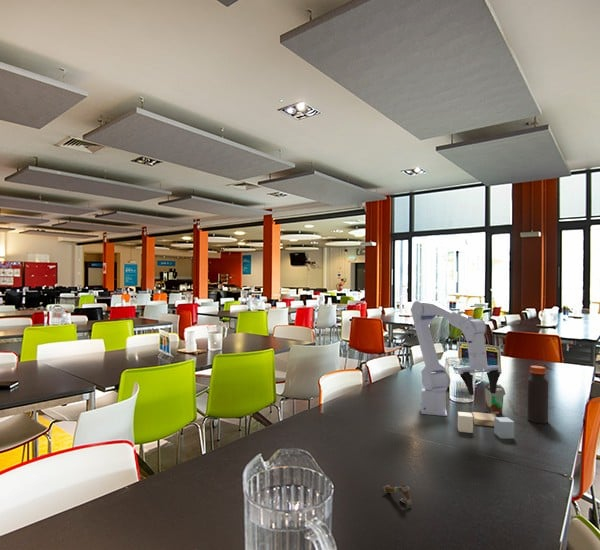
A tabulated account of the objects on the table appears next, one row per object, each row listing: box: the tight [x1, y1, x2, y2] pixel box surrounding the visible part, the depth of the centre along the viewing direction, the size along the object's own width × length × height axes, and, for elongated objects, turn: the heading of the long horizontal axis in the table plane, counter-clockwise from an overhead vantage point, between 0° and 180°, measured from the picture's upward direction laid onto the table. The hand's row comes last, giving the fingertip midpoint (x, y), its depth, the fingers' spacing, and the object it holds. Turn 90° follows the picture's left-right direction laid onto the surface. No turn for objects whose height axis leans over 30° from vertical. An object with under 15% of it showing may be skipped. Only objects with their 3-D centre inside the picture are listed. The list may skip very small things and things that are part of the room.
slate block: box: [493, 416, 515, 440], centre depth 140 cm, size 4×4×6 cm
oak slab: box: [471, 411, 497, 427], centre depth 154 cm, size 8×8×2 cm
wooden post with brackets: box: [383, 483, 413, 507], centre depth 98 cm, size 2×8×4 cm, turn 31°
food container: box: [484, 382, 506, 417], centre depth 164 cm, size 12×6×10 cm, turn 168°
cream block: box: [457, 411, 474, 434], centre depth 145 cm, size 4×4×6 cm
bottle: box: [526, 365, 549, 425], centre depth 155 cm, size 7×7×20 cm
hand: (482, 393), depth 144 cm, fingers open, 7 cm apart
